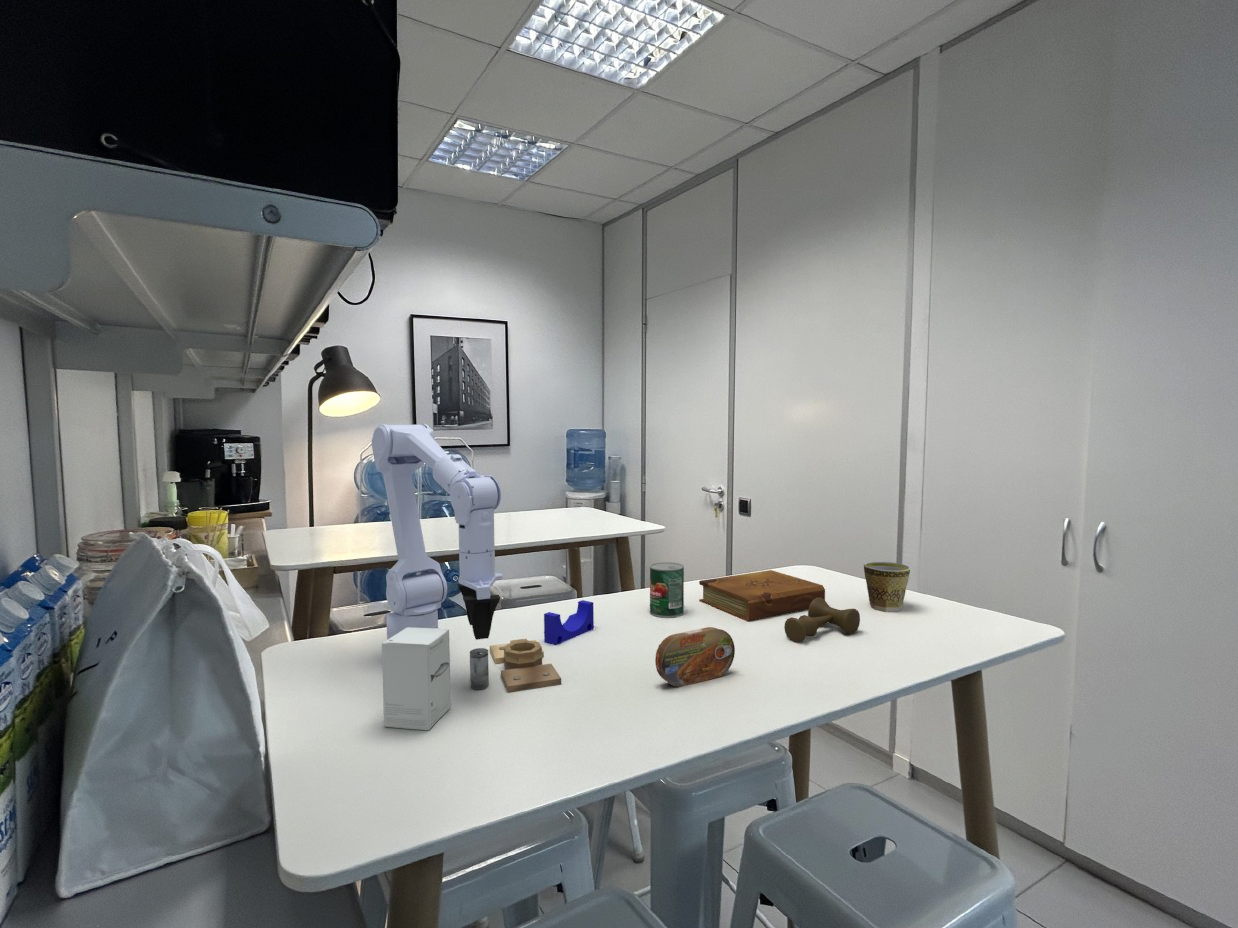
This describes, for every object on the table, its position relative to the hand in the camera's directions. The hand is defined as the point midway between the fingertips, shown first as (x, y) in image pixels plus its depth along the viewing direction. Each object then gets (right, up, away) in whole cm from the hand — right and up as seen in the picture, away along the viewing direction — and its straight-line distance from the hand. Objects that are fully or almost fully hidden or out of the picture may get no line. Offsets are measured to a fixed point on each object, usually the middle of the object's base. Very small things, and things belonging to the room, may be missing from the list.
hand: (478, 630), depth 103 cm
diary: (+58, -7, +47) cm, 75 cm away
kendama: (+66, -8, +26) cm, 72 cm away
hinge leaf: (+5, -9, +12) cm, 16 cm away
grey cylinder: (0, -9, +1) cm, 9 cm away
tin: (+36, -9, +3) cm, 38 cm away
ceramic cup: (+86, -6, +45) cm, 97 cm away
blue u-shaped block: (+12, -8, +26) cm, 30 cm away
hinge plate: (+7, -9, +6) cm, 13 cm away
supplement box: (-7, -10, -10) cm, 16 cm away
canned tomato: (+34, -7, +41) cm, 54 cm away
